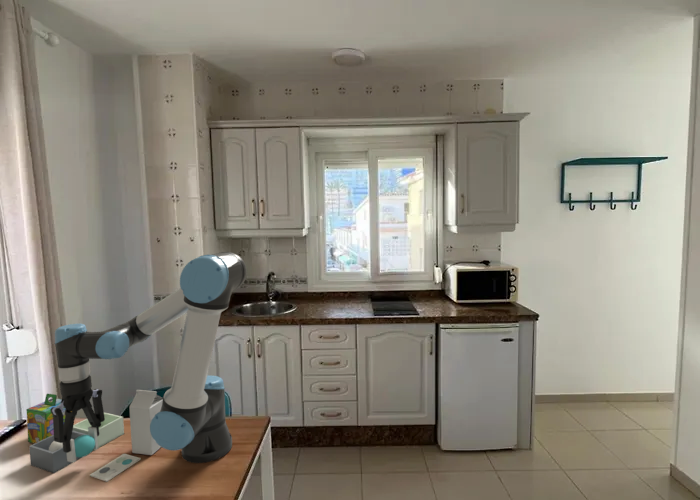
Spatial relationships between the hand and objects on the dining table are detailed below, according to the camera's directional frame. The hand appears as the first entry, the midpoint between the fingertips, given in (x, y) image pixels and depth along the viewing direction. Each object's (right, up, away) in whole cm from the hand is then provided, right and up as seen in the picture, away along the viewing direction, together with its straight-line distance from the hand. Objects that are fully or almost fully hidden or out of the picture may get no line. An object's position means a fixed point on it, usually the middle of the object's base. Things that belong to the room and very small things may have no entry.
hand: (83, 454), depth 117 cm
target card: (+9, -4, +1) cm, 10 cm away
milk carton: (+14, -4, +11) cm, 18 cm away
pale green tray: (-6, -3, +17) cm, 18 cm away
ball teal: (0, 0, 0) cm, 0 cm away
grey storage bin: (-10, -4, +6) cm, 13 cm away
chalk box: (-23, -4, +18) cm, 29 cm away
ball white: (-10, -4, +5) cm, 12 cm away
